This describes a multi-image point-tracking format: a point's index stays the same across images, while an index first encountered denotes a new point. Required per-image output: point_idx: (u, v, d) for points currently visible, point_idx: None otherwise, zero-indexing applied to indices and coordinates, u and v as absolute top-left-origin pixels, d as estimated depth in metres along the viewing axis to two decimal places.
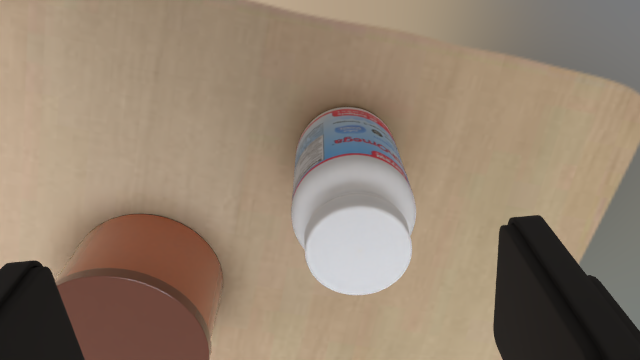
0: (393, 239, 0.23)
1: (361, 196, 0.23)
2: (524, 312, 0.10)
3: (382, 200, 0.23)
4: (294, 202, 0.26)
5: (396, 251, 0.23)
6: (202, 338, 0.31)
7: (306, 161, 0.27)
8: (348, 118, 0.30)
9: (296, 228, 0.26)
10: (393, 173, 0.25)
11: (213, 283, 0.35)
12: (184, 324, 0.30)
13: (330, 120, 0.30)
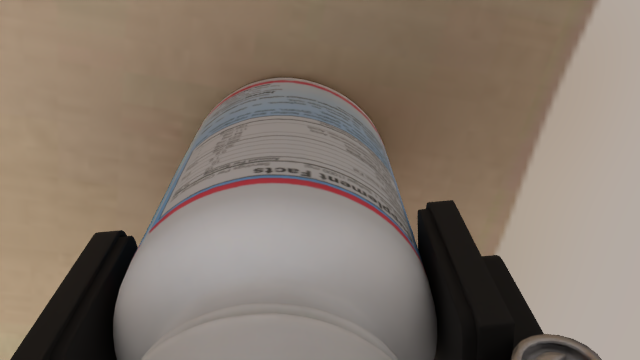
0: None
1: None
2: (432, 288, 0.10)
3: None
4: (323, 210, 0.09)
5: None
6: None
7: (374, 179, 0.11)
8: None
9: (248, 228, 0.08)
10: None
11: None
12: None
13: (390, 166, 0.15)
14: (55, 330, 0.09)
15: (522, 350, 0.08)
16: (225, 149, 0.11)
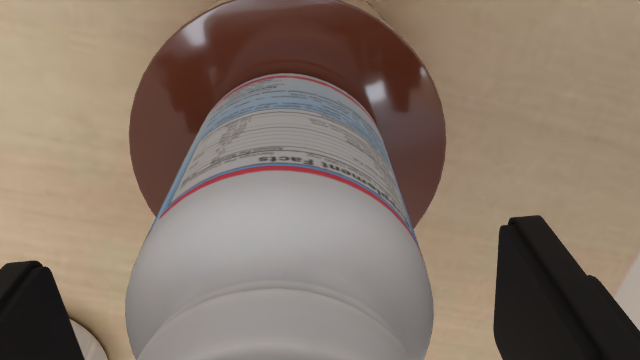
0: None
1: None
2: (524, 312, 0.10)
3: None
4: (325, 195, 0.09)
5: None
6: None
7: (373, 168, 0.12)
8: None
9: (254, 212, 0.09)
10: None
11: None
12: None
13: (388, 158, 0.15)
14: None
15: None
16: (231, 140, 0.12)
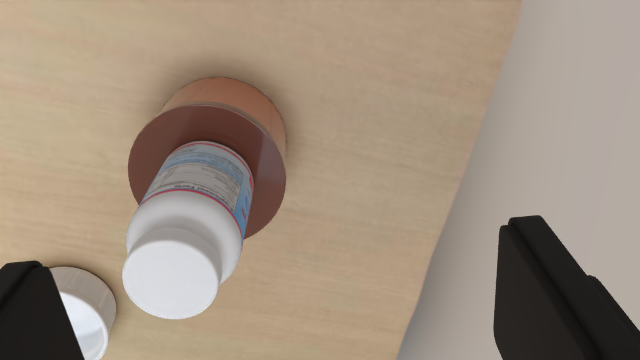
0: (187, 306, 0.26)
1: (221, 272, 0.27)
2: (524, 312, 0.10)
3: None
4: (193, 199, 0.27)
5: (175, 309, 0.27)
6: None
7: (222, 188, 0.30)
8: (250, 197, 0.34)
9: (168, 205, 0.27)
10: (230, 274, 0.29)
11: None
12: None
13: (247, 181, 0.33)
14: None
15: None
16: (167, 177, 0.30)
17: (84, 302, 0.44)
